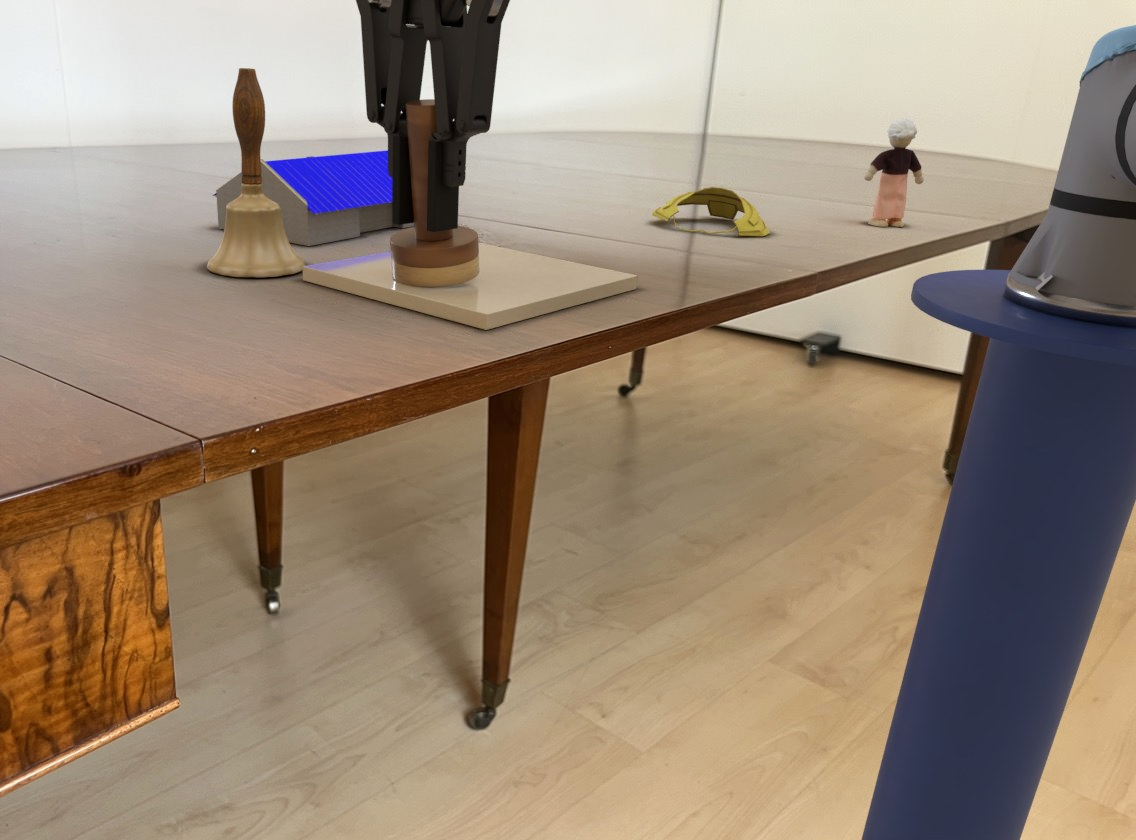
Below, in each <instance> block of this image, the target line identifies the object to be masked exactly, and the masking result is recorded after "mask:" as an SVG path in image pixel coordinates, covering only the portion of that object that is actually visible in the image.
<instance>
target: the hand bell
mask: <svg viewBox="0 0 1136 840" xmlns="http://www.w3.org/2000/svg"><path fill="white" fill-rule="evenodd" d="M232 118H233V119H232V120H233V125H234V130H235V135H236V137H237V140H238V144H239V148H240V156H241V170H240V173H241V172H242V175H243V176H242V177H241V181H242V193H241V195H240V196H239V197H238V198H237V199H235V200H233V201H232V202H230V203H228V204H227V206H226V221H225V229H223V236H222V239H221V242H220V244H219V247H218V248H217V250H216V252H215V253H214V255H213V256H212V257H210V259H209V260H208V262H207V265H206V268H207V270H208V271H209V272H211V273H214V274H217V275H220V276H225V277H226V276H227V277H233V278H234V277H235V278H276V277H281V276H288V275H294V274H297V273H300V272H303V269H302V267H303V266H307V265H306V263H305V261H304V259H303V257H301V256H300V255H298V253H296V252H295V250H294V248H293V246H292V245H291V244H290V242H289V241H288V239H287V237H286V234H285V230H284V226H283V222H282V217H281V210H280V206H279V205H278V204H277V203H276V202H274V201H272V200H270V199H268V198H267V197H266V196H265V195H264V194H263V190H262V184H261V183H262V177H261V174H262V171H261V159H262V158H261V147H262V142H263V138H264V135H265V127H266V105H265V99H264V94H263V90H262V88H261V86H260V83H259V79H258V76H257V71H256V69H255V68H249V67H248V68H247V67H240V68H238V74H237V79H236V83H235V85H234V90H233V94H232Z"/></svg>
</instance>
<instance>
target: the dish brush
mask: <svg viewBox="0 0 1136 840" xmlns="http://www.w3.org/2000/svg"><path fill="white" fill-rule="evenodd" d="M406 117H407V131H408V145H409V159H410V174H411V188H412V202H413V216H414V226H413V227H407V228H403V229H402V230H398V231H395V232H394V233H393V234H391V235H390V237H389V248H390V249H389V250H390V251H391V262H392V274H393V278H394V279H395V280H396V281H398V282H400V283H403V284H406V285H411V286H419V287H441V286H450V285H456V284H460V283H464V282H467V281H469V280H472V279H474V278H475V277H476V276H478V274H479V272H480V267H479V243H480V242H479V241H480V240H479V232H477V231H476V230H475V229H472V228H470V227H467V226H462V225H458V228H457V229H450V230H444V231H438V232H431V231H427V192H428V141H432V138H431V135H430V133H437V124H436V112H435V100H434V99H433V98H431V99H430V98H429V99H420V100H414V101H410V102H407V103H406Z"/></svg>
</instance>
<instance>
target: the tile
mask: <svg viewBox="0 0 1136 840" xmlns="http://www.w3.org/2000/svg"><path fill="white" fill-rule="evenodd" d="M479 267H480V272H479V274H478V276H476V277H475V278H474V279H472V280H469V281H467V282H464V283H460V284H456V285H450V286H441V287H419V286H411V285H406V284H403V283H400V282H398V281H396V280H395V279H394V278H393V274H392V262H391V250H390V251H384V252H379V253H372V254H367V255H360V256H354V257H350V258H343V259H337V260H332V261H325V262H319V263H313V264H308V265H306V266H303V267H302V269H303V270H302V281H304V282H308V283H311V284H315V285H319V286H322V287H326V288H329V289H333V290H337V291H340V292H345V293H349V294H351V295H356V296H359V297H363V298H367V299H370V300H373V301H377V302H381V303H385V304H387V305H393V306H396V307H399V308H404V309H407V310H410V311H414V312H418V313H421V314H426V315H429V316H432V317H436V318H440V319H443V320H447V321H451V322H455V323H458V324H462V325H465V326H470V327H473V328H477V329H481V330H485V331H487V330H491V329H495V328H498V327H502V326H506V325H510V324H513V323H517V322H520V321H525V320H529V319H532V318H536V317H539V316H542V315H543V316H544V315H545V314H550V313H554V312H557V311H561V310H565V309H568V308H572V307H576V306H580V305H582V304H587V303H590V302H595V301H598V300H601V299H605V298H608V297H613V296H615V295H619V294H623V293H627V292H631V291H634V290H637V284H638V275H636V274H632V273H628V272H622V271H617V270H613V269H608V268H603V267H598V266H593V265H588V264H584V263H579V262H576V261H570V260H565V259H559V258H554V257H551V256H546V255H541V254H536V253H531V252H526V251H521V250H516V249H511V248H506V247H502V246H496V245H493V244H488V243H483V242H479Z"/></svg>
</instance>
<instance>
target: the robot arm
mask: <svg viewBox="0 0 1136 840" xmlns="http://www.w3.org/2000/svg"><path fill="white" fill-rule="evenodd" d="M355 2H356V6H357V10H358V12H359V17H360V29H361V44H362V59H363V61H362V62H363V75H364V93H365V94H364V95H365V108H366V109H365V110H366V118H367V121H368V122H370V123H372V124H378V125H379V126H380V127H382V128H383V129H384V132H385V133H386V135H387V150H388V173H389V177H393V182H392V224H397V225H402V224H409V223H414V216H413V202H412V188H411V174H410V159H409V145H408V131H407V117H406V103H407V102H410V101H414V100H421V93H422V85H423V77H424V68H425V61H426V52H427V44H428V42H429V50H430V63H431V74H432V75H431V76H432V86H433V87H432V88H433V98H434V100H435V112H436V124H437V133H430V135H431V138H432V141H428V192H427V231H431V232H438V231H444V230H450V229H457V228H458V226H459V204H460V203H459V202H460V201H459V198H460V187H462V186H464V184H465V181H466V173H467V172H466V171H467V170H466V169H467V166H466V165H467V146H468V145H467V144H468V141H469V140H470V138H472V137H475V136H477V135H480V134H486V133H487V132H489V130H490V128H491V124H492V114H493V104H494V95H495V87H496V78H497V77H496V76H497V68H498V59H499V50H500V40H501V33H502V32H501V31H502V24H503V20H504V17H505V15H506V12H507V9H508V7H509V5H510V2H511V0H355ZM1084 68H1085V69H1084V70H1083V72H1082V73H1081V76H1080V79H1079V89H1078V93H1077V97H1076V101H1075V104H1074V109H1073V113H1072V116H1071V120H1070V124H1069V128H1068V131H1067V136H1066V139H1065V144H1064V147H1063V151H1062V155H1061V159H1060V163H1059V167H1058V171H1057V173H1056V177H1055V182H1054V186H1053V190H1052V194H1051V198H1050V200H1049V205H1048V208H1047V212H1046V214H1045V215H1044V218H1043V220H1042V221H1041V223H1040V224H1039V226H1038V227H1037V229H1036V231H1035V232H1034V233H1033V235H1032V237H1031V238H1030V240H1029V241H1028V242H1027V245H1026V246H1025V248H1024V249H1023V251H1022V252H1021V254H1020V256H1019V257H1018V258H1017V261H1016V262H1015V264H1014V265H1013V266H1012V269H1010V270H1011V272H1010V273H1009V274H1008V278H1007V282H1006V286H1005V290H1004V294H1003V295H1004V297H1005V298H1006V299H1007V300H1009V301H1010V302H1012V303H1014V304H1016V305H1019V306H1021V307H1024V308H1027V309H1030V310H1033V311H1036V312H1040V313H1043V314H1047V315H1051V316H1055V317H1060V318H1065V319H1069V320H1075V321H1080V322H1086V323H1092V324H1099V325H1106V326H1114V327H1124V328H1136V24H1134V25H1129V26H1123V27H1120V28H1117V29H1114V30H1111V31H1109V32H1107V33H1105V34H1104V35H1102V36H1100V38H1098V39H1097V41H1096V42H1095V43H1094V45H1093V47H1092V49H1091V52H1090V54H1089V57H1088V60H1087V63H1086V66H1085V67H1084Z"/></svg>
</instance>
